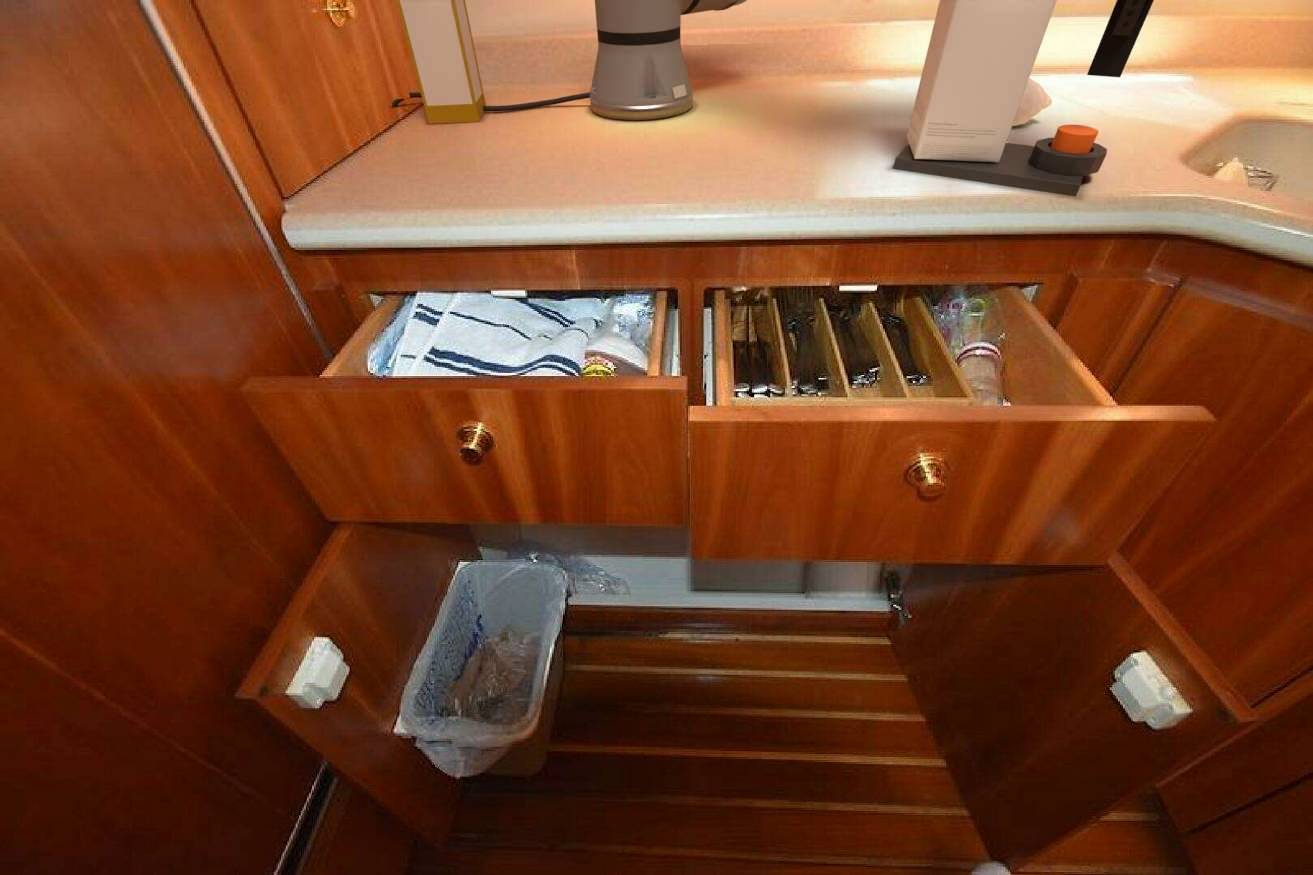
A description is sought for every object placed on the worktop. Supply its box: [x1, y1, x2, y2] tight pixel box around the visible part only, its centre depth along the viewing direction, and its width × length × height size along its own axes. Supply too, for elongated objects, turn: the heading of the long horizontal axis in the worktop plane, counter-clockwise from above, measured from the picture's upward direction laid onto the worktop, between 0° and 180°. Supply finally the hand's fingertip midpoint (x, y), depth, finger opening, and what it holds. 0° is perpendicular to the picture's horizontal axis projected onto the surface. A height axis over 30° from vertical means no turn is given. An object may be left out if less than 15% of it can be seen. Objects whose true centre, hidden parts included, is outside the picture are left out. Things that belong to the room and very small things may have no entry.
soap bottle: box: [395, 0, 487, 125], centre depth 77 cm, size 7×13×24 cm, turn 4°
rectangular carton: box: [906, 0, 1058, 163], centre depth 61 cm, size 9×9×15 cm
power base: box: [892, 137, 1108, 198], centre depth 64 cm, size 19×11×3 cm, turn 59°
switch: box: [1050, 124, 1099, 154], centre depth 60 cm, size 4×4×2 cm
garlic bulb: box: [1012, 77, 1053, 127], centre depth 75 cm, size 6×6×5 cm
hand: (1103, 74), depth 56 cm, fingers closed
